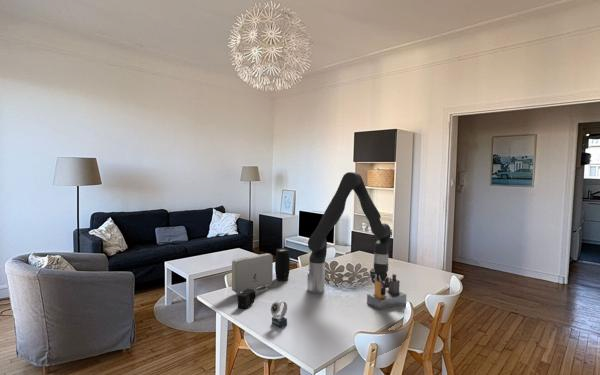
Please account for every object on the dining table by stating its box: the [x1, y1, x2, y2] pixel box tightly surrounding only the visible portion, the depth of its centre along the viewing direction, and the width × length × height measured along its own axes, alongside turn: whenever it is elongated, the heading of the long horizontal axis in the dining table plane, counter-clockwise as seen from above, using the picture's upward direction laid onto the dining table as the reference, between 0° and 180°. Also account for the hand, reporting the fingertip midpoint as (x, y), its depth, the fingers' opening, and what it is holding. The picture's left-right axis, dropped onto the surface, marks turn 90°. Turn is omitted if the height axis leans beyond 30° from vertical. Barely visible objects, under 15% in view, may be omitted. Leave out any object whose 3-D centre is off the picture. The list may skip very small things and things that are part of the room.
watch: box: [270, 299, 288, 329], centre depth 151 cm, size 6×8×11 cm
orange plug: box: [374, 279, 386, 299], centre depth 175 cm, size 4×4×13 cm
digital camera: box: [237, 289, 257, 310], centre depth 171 cm, size 10×5×7 cm, turn 162°
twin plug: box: [387, 273, 400, 295], centre depth 179 cm, size 4×4×13 cm
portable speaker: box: [274, 247, 291, 282], centre depth 212 cm, size 9×9×20 cm
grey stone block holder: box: [366, 289, 407, 311], centre depth 177 cm, size 19×10×5 cm, turn 119°
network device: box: [231, 253, 274, 295], centre depth 192 cm, size 26×9×20 cm, turn 131°
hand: (380, 293), depth 175 cm, fingers closed on orange plug, 4 cm apart
